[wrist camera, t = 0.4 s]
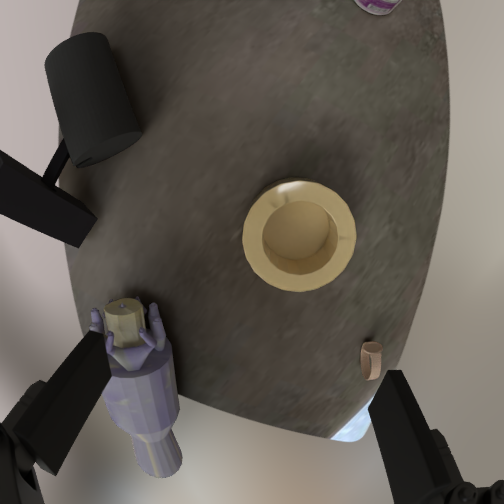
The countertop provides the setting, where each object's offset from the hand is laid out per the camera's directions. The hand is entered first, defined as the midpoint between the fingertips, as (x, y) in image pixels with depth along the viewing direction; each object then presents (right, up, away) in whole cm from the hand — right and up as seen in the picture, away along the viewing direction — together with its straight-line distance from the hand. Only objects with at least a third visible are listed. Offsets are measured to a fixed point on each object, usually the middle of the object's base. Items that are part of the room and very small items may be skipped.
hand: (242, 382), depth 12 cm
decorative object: (-15, -28, +27) cm, 42 cm away
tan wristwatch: (+15, -7, +24) cm, 30 cm away
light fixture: (-12, +27, +13) cm, 32 cm away
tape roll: (+5, +8, +19) cm, 21 cm away
